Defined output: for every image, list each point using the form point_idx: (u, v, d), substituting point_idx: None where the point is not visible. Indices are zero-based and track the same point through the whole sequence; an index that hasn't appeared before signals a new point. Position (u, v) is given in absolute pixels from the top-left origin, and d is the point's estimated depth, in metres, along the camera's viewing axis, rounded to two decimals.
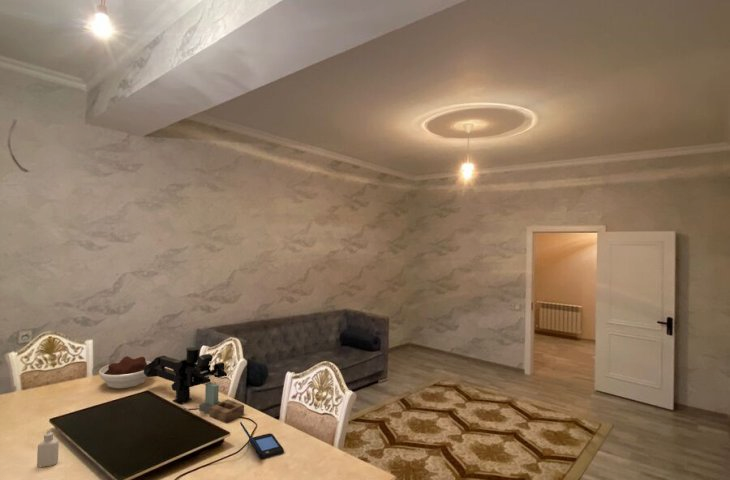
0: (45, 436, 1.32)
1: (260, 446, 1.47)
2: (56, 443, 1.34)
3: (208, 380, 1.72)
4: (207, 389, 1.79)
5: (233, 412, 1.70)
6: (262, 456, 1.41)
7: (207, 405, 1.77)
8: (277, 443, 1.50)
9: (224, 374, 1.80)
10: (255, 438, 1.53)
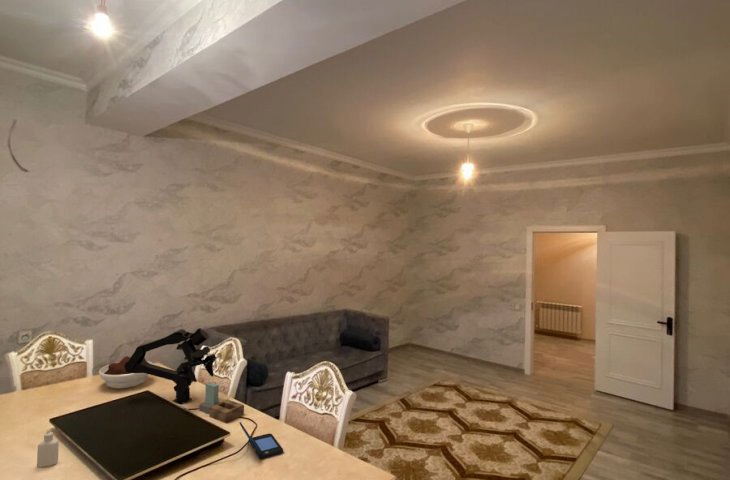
0: (45, 436, 1.32)
1: (259, 446, 1.47)
2: (57, 443, 1.34)
3: (194, 380, 1.78)
4: (207, 389, 1.79)
5: (233, 412, 1.70)
6: (261, 456, 1.41)
7: (207, 405, 1.77)
8: (276, 443, 1.50)
9: (211, 374, 1.86)
10: (254, 438, 1.53)
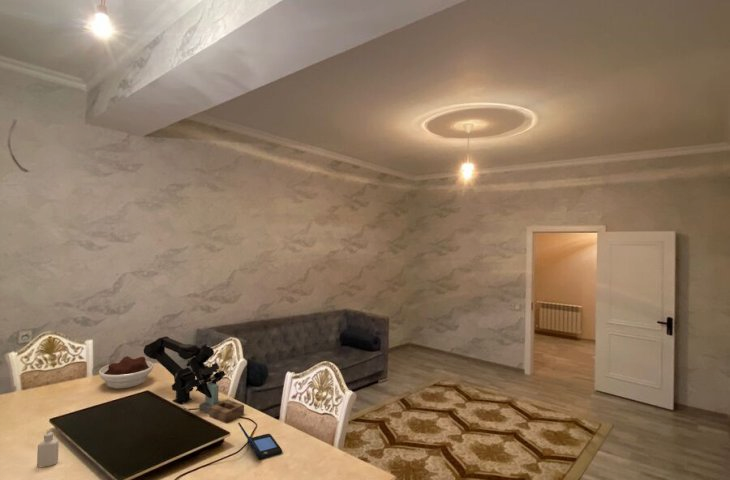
0: (45, 436, 1.32)
1: (258, 446, 1.47)
2: (56, 443, 1.34)
3: (210, 396, 1.77)
4: None
5: (233, 412, 1.70)
6: (260, 457, 1.40)
7: (207, 405, 1.77)
8: (275, 443, 1.49)
9: None
10: (253, 438, 1.53)
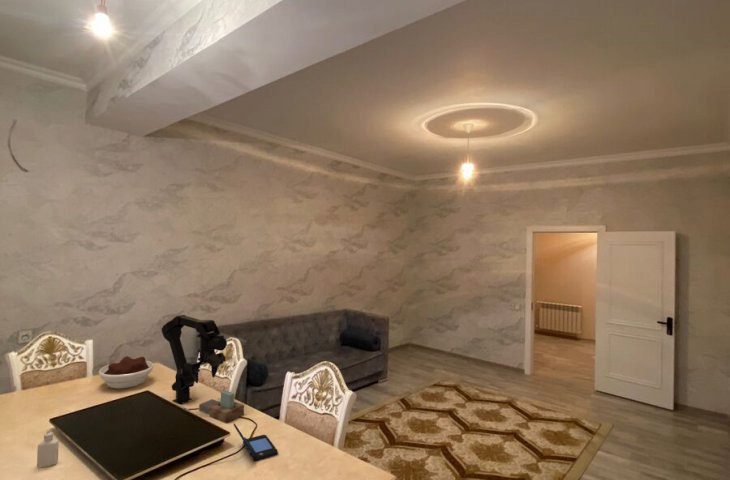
0: (45, 436, 1.32)
1: (254, 448, 1.46)
2: (56, 443, 1.34)
3: (196, 381, 1.77)
4: (222, 397, 1.74)
5: (233, 412, 1.70)
6: (256, 458, 1.40)
7: (207, 405, 1.77)
8: (271, 445, 1.49)
9: (213, 374, 1.86)
10: (249, 440, 1.52)
